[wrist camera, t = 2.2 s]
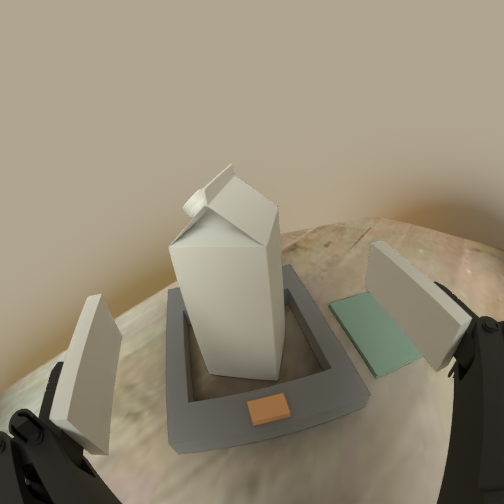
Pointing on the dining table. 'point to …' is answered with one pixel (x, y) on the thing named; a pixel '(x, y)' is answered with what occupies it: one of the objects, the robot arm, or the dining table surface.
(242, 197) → the milk carton
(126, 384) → the dining table surface
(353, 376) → the grey open frame
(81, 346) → the robot arm
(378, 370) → the felt pad
